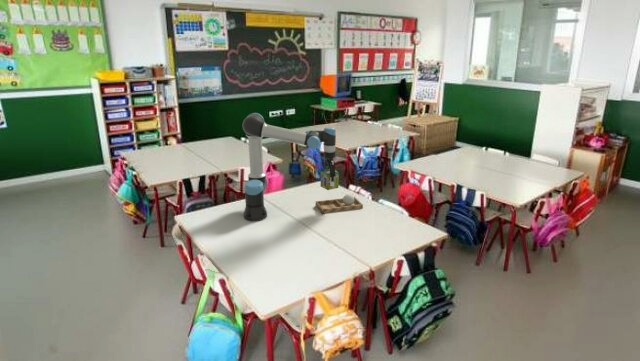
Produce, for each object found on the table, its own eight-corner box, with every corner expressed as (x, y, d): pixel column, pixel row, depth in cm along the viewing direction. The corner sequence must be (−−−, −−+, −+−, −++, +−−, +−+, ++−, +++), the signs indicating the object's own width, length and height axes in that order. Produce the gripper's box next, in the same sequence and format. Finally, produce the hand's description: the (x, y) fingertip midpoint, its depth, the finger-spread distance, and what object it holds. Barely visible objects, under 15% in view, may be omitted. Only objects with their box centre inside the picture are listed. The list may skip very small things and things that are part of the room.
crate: (321, 214, 270) (321, 209, 269) (315, 206, 283) (315, 201, 282) (362, 209, 278) (362, 204, 276) (354, 201, 291) (354, 196, 290)
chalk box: (327, 190, 267) (327, 169, 262) (320, 186, 275) (320, 165, 270) (339, 188, 272) (339, 166, 267) (331, 184, 279) (331, 163, 275)
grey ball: (345, 208, 277) (345, 197, 275) (341, 203, 285) (341, 193, 282) (356, 206, 280) (356, 195, 277) (351, 202, 287) (352, 191, 284)
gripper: (341, 155, 256) (340, 188, 263) (329, 146, 276) (329, 177, 284) (329, 156, 254) (329, 189, 261) (319, 147, 274) (319, 178, 282)
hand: (329, 183), depth 272 cm, fingers closed on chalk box, 10 cm apart
